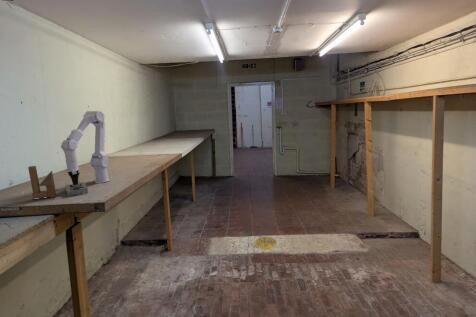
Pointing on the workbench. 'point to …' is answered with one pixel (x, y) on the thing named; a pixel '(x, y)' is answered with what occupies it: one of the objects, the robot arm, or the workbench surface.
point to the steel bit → (76, 185)
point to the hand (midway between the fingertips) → (75, 184)
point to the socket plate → (76, 189)
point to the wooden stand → (46, 182)
